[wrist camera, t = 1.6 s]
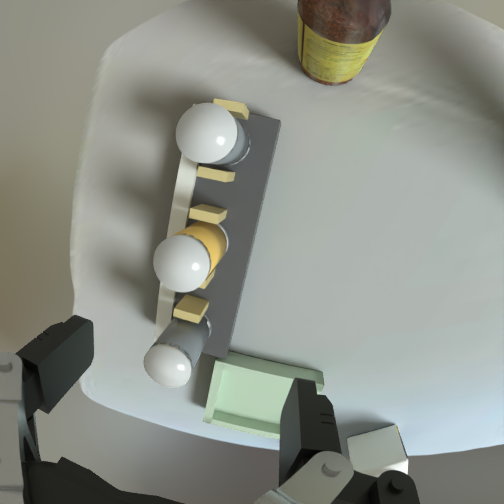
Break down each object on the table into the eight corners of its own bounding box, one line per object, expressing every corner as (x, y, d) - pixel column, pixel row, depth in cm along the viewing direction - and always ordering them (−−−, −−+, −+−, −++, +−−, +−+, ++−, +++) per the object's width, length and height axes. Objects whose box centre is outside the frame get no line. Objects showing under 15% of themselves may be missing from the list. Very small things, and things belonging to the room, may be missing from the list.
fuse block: (281, 122, 28) (279, 110, 22) (229, 348, 35) (218, 379, 29) (200, 107, 29) (181, 94, 23) (162, 329, 35) (141, 356, 29)
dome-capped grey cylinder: (255, 126, 26) (242, 108, 19) (245, 169, 27) (228, 168, 20) (211, 118, 26) (183, 99, 19) (201, 161, 28) (170, 157, 20)
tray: (322, 372, 34) (324, 384, 32) (297, 429, 37) (297, 442, 34) (220, 348, 35) (215, 360, 32) (207, 409, 37) (202, 421, 35)
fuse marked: (233, 224, 29) (212, 244, 21) (224, 266, 30) (202, 298, 22) (191, 214, 29) (157, 230, 21) (183, 255, 30) (150, 283, 22)
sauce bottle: (370, 77, 26) (464, -26, 7) (313, 96, 27) (349, -16, 8) (340, 24, 25) (385, -109, 6) (284, 41, 26) (274, -100, 7)
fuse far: (214, 313, 31) (192, 356, 23) (208, 346, 32) (187, 393, 24) (176, 302, 31) (144, 341, 23) (172, 335, 32) (142, 378, 24)
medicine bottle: (397, 451, 37) (414, 512, 25) (351, 464, 38) (360, 527, 26) (396, 422, 35) (417, 488, 24) (346, 436, 36) (356, 505, 25)
